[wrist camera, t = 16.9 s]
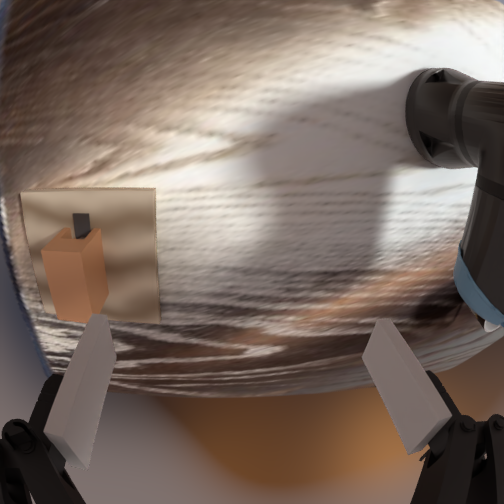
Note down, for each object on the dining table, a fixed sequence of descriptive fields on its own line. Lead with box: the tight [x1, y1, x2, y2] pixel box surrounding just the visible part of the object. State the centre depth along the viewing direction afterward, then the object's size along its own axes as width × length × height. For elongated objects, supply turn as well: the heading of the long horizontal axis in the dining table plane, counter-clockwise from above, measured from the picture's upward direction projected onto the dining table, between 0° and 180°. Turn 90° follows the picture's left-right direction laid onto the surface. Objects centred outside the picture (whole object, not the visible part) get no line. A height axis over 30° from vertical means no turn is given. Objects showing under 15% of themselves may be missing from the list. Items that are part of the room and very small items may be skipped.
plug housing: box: [41, 228, 109, 323], centre depth 35 cm, size 10×6×7 cm, turn 175°
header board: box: [20, 188, 161, 324], centre depth 38 cm, size 20×20×4 cm
